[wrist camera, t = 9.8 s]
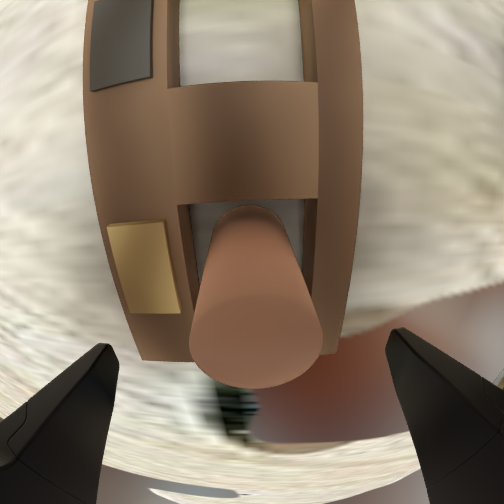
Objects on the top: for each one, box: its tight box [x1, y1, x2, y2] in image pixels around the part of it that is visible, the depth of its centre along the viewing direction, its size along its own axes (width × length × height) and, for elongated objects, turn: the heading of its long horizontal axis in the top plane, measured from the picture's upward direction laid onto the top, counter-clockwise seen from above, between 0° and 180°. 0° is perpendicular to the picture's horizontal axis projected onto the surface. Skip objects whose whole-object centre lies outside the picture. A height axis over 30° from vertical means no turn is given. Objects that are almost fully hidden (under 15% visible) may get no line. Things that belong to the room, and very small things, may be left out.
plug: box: [189, 205, 323, 389], centre depth 12 cm, size 4×4×8 cm
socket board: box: [83, 0, 363, 362], centre depth 11 cm, size 12×24×3 cm, turn 2°
